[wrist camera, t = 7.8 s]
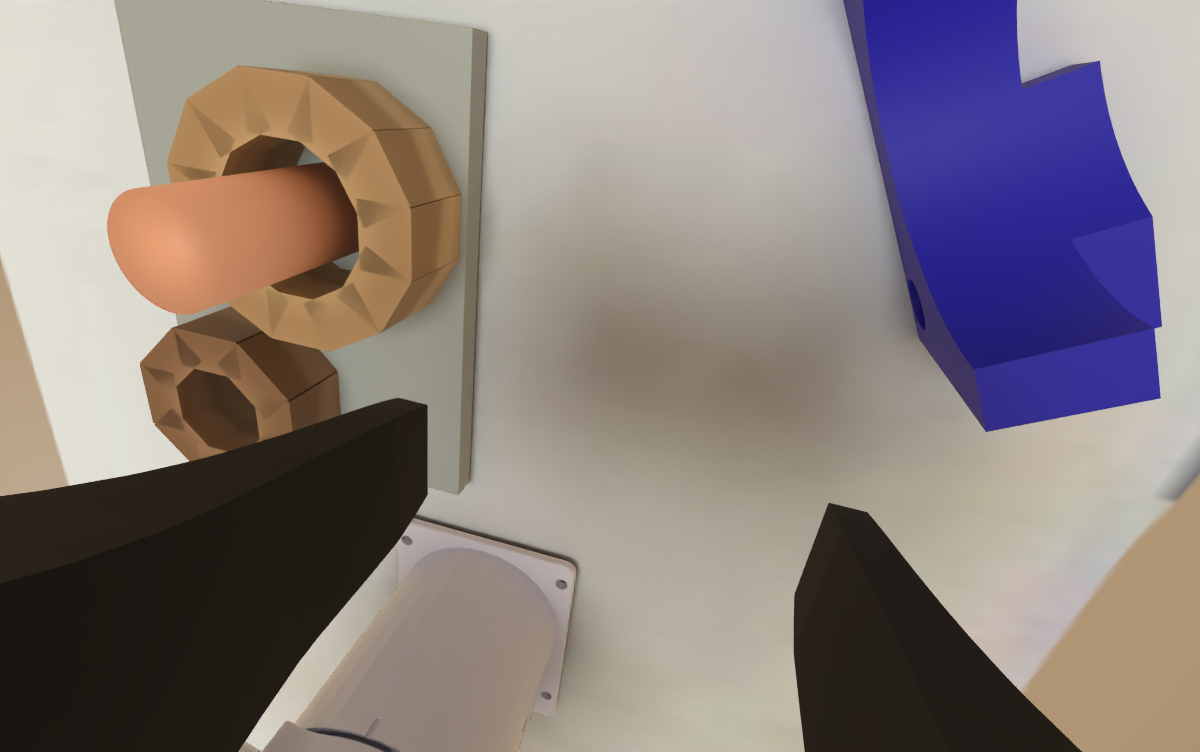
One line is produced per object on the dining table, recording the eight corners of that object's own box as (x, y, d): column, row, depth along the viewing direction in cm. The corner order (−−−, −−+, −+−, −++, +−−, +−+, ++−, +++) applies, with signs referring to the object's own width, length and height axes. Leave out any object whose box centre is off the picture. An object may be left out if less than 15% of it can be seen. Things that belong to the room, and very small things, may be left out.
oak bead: (457, 337, 20) (412, 371, 18) (265, 294, 21) (195, 320, 19) (464, 95, 17) (409, 91, 14) (236, 60, 18) (146, 51, 15)
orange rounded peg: (394, 253, 20) (229, 324, 13) (319, 241, 20) (126, 303, 14) (389, 165, 18) (204, 197, 12) (309, 154, 19) (92, 180, 13)
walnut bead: (344, 464, 24) (300, 502, 22) (217, 430, 25) (163, 462, 23) (334, 327, 21) (283, 354, 19) (193, 295, 22) (128, 316, 20)
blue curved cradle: (1095, 291, 16) (1260, 379, 11) (917, 336, 18) (986, 431, 12) (1033, -225, 13) (1233, -470, 7) (817, -111, 14) (853, -243, 9)
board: (469, 480, 24) (458, 495, 23) (216, 414, 26) (197, 425, 25) (487, 32, 17) (472, 27, 16) (140, -14, 19) (110, -20, 18)
